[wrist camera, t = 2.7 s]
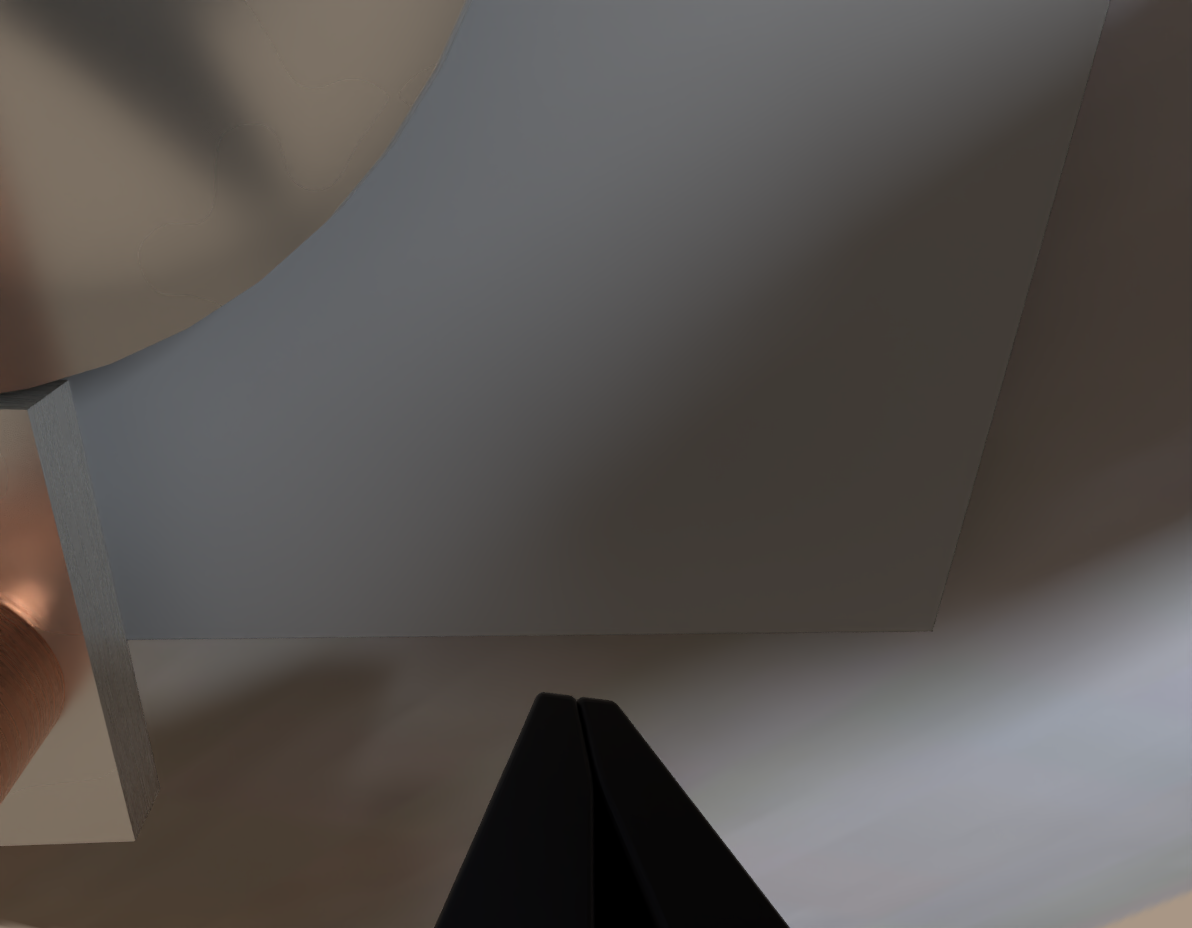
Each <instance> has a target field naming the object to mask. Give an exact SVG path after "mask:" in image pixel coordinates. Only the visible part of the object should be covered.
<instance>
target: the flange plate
mask: <svg viewBox="0 0 1192 928" xmlns="http://www.w3.org/2000/svg"><path fill="white" fill-rule="evenodd" d="M471 2H472V0H0V846H16V845H44V844H73V843H101V842H129V841H135V840H136V838H137V836H138V834H139V832H140V830H141V828H142V826H143V824H144V822H145V819H146V817H147V815H148V813H149V811H150V809H151V807H152V805H153V803H154V801H155V799H156V797H157V794H158V792H159V790H160V785H159V781H158V776H157V772H156V767H155V763H154V758H153V754H152V749H151V745H150V740H149V736H148V731H147V727H146V722H145V718H144V714H143V709H142V705H141V700H140V696H139V691H138V687H137V682H136V678H135V673H134V669H133V664H132V660H131V655H130V651H129V646H128V642H127V637H126V633H125V628H124V624H123V619H122V615H121V610H120V606H119V601H118V597H117V593H116V588H115V584H114V579H113V575H112V570H111V566H110V561H109V557H108V552H107V548H106V543H105V539H104V534H103V530H102V525H101V521H100V516H99V512H98V507H97V503H96V498H95V494H94V489H93V485H92V480H91V476H90V472H89V467H88V463H87V458H86V454H85V449H84V445H83V440H82V436H81V431H80V427H79V422H78V418H77V413H76V409H75V404H74V400H73V395H72V391H71V386H70V382H69V380H61V379H62V378H66V377H69V376H72V375H76V374H79V373H82V372H86V371H89V370H92V369H96V368H99V367H102V366H106V365H109V364H112V363H114V362H116V361H118V360H120V359H123V358H125V357H127V356H129V355H131V354H133V353H136V352H138V351H140V350H142V349H144V348H146V347H149V346H151V345H153V344H155V343H157V342H159V341H162V340H164V339H166V338H168V337H170V336H172V335H175V334H177V333H179V332H181V331H183V330H185V329H188V328H189V327H191V326H192V325H194V324H195V323H197V322H198V321H200V320H201V319H203V318H204V317H206V316H208V315H209V314H211V313H212V312H214V311H215V310H217V309H218V308H220V307H221V306H223V305H224V304H226V303H227V302H229V301H231V300H232V299H234V298H235V297H237V296H238V295H240V294H241V293H243V292H244V291H246V290H247V289H249V288H250V287H252V286H253V285H255V284H257V283H258V282H259V281H261V280H262V279H263V278H264V277H265V276H266V275H267V274H268V273H270V272H271V271H272V270H273V269H274V268H275V267H276V266H278V265H279V264H280V263H281V262H282V261H283V260H284V259H285V258H287V257H288V256H289V255H290V254H291V253H292V252H293V251H294V250H296V249H297V248H298V247H299V246H300V245H301V244H302V243H303V242H305V241H306V240H307V239H308V238H309V237H310V236H311V235H312V234H313V233H315V232H316V231H317V230H318V229H319V228H320V227H321V226H322V225H324V224H325V223H326V222H327V221H328V220H329V219H330V218H331V217H333V216H334V215H335V214H336V213H337V212H338V211H339V210H340V209H341V208H342V207H343V206H344V205H345V204H346V202H347V201H348V200H349V199H350V198H351V196H352V195H353V194H354V193H355V192H356V190H357V189H358V188H359V187H360V186H361V184H362V183H363V182H364V181H365V180H366V178H367V177H368V176H369V175H370V174H371V172H372V171H373V170H374V169H375V168H376V166H377V165H378V164H379V163H380V162H381V160H382V159H383V158H384V157H385V156H386V154H387V153H388V152H389V151H390V150H391V148H392V147H393V146H394V145H395V143H396V142H397V140H398V138H399V137H400V135H401V134H402V132H403V130H404V129H405V127H406V125H407V124H408V122H409V121H410V119H411V117H412V116H413V114H414V113H415V111H416V109H417V108H418V106H419V105H420V103H421V101H422V100H423V98H424V96H425V95H426V93H427V92H428V90H429V88H430V87H431V85H432V84H433V82H434V80H435V79H436V77H437V75H438V74H439V72H440V71H441V69H442V67H443V64H444V62H445V60H446V58H447V56H448V53H449V51H450V49H451V47H452V44H453V42H454V40H455V38H456V35H457V33H458V31H459V29H460V26H461V24H462V22H463V20H464V17H465V15H466V13H467V11H468V9H469V6H470V4H471Z"/></svg>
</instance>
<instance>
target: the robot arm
mask: <svg viewBox="0 0 1192 928" xmlns="http://www.w3.org/2000/svg"><path fill="white" fill-rule="evenodd" d="M434 928H790V927H789V926H788V925H787V923H786V922H785V921H784V919H783V918H782V917H781V916H780V914H779V913H778V912H777V910H776V909H775V908H774V907H773V905H772V904H771V903H770V901H769V900H768V899H767V897H766V896H765V895H764V894H763V892H762V891H761V890H760V888H759V887H758V886H757V885H756V883H755V882H754V881H753V879H752V878H751V877H750V875H749V874H748V873H747V872H746V870H745V869H744V868H743V866H742V865H741V864H740V863H739V861H738V860H737V859H736V857H735V856H734V855H733V853H732V852H731V851H730V850H729V848H728V847H727V846H726V844H725V843H724V842H723V841H722V839H721V838H720V837H719V835H718V834H717V833H716V831H715V830H714V829H713V828H712V826H711V825H710V824H709V822H708V821H707V820H706V819H705V817H704V816H703V815H702V813H701V812H700V811H699V809H698V808H697V807H696V806H695V804H694V803H693V802H692V800H691V799H690V798H689V797H688V795H687V794H686V793H685V791H684V790H683V789H682V787H681V786H680V785H679V784H678V782H677V781H676V780H675V778H674V777H673V776H672V775H671V773H670V772H669V771H668V769H667V768H666V767H665V765H664V764H663V763H662V762H661V760H660V759H659V758H658V756H657V755H656V754H655V753H654V751H653V750H652V749H651V747H650V746H649V745H648V743H647V742H646V741H645V740H644V738H643V737H642V736H641V734H640V733H639V732H638V731H637V729H636V728H635V727H634V725H633V724H632V723H631V721H630V720H629V719H628V718H627V716H626V715H625V714H624V712H623V711H622V710H621V709H620V707H619V706H618V705H617V704H616V703H614V702H613V701H609V700H602V699H594V698H586V697H581V698H580V699H578V700H577V701H576V699H574V698H573V697H572V696H569V695H561V694H553V693H545V692H542V693H539V694H538V695H537V697H536V699H535V701H534V703H533V705H532V707H531V710H530V712H529V714H528V716H527V719H526V721H525V723H524V726H523V728H522V730H521V732H520V735H519V737H518V739H517V741H516V744H515V746H514V748H513V750H512V753H511V755H510V757H509V760H508V762H507V764H506V766H505V769H504V771H503V773H502V775H501V778H500V780H499V782H498V784H497V787H496V789H495V791H494V793H493V796H492V798H491V800H490V803H489V805H488V807H487V809H486V812H485V814H484V816H483V818H482V821H481V823H480V825H479V827H478V830H477V832H476V834H475V836H474V839H473V841H472V843H471V846H470V848H469V850H468V852H467V855H466V857H465V859H464V861H463V864H462V866H461V868H460V870H459V873H458V875H457V877H456V880H455V882H454V884H453V886H452V889H451V891H450V893H449V895H448V898H447V900H446V902H445V904H444V907H443V909H442V911H441V913H440V916H439V918H438V920H437V923H436V925H435V927H434Z"/></svg>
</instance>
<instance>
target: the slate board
mask: <svg viewBox="0 0 1192 928" xmlns="http://www.w3.org/2000/svg"><path fill="white" fill-rule="evenodd" d="M1109 3H1110V0H472V2H471V4H470V6H469V9H468V11H467V13H466V15H465V17H464V20H463V22H462V24H461V26H460V29H459V31H458V33H457V35H456V38H455V40H454V42H453V44H452V47H451V49H450V51H449V53H448V56H447V58H446V60H445V62H444V64H443V67H442V69H441V71H440V72H439V74H438V75H437V77H436V79H435V80H434V82H433V84H432V85H431V87H430V88H429V90H428V92H427V93H426V95H425V96H424V98H423V100H422V101H421V103H420V105H419V106H418V108H417V109H416V111H415V113H414V114H413V116H412V117H411V119H410V121H409V122H408V124H407V125H406V127H405V129H404V130H403V132H402V134H401V135H400V137H399V138H398V140H397V142H396V143H395V145H394V146H393V147H392V148H391V150H390V151H389V152H388V153H387V154H386V156H385V157H384V158H383V159H382V160H381V162H380V163H379V164H378V165H377V166H376V168H375V169H374V170H373V171H372V172H371V174H370V175H369V176H368V177H367V178H366V180H365V181H364V182H363V183H362V184H361V186H360V187H359V188H358V189H357V190H356V192H355V193H354V194H353V195H352V196H351V198H350V199H349V200H348V201H347V202H346V204H345V205H344V206H343V207H342V208H341V209H340V210H339V211H338V212H337V213H336V214H335V215H334V216H333V217H331V218H330V219H329V220H328V221H327V222H326V223H325V224H324V225H322V226H321V227H320V228H319V229H318V230H317V231H316V232H315V233H313V234H312V235H311V236H310V237H309V238H308V239H307V240H306V241H305V242H303V243H302V244H301V245H300V246H299V247H298V248H297V249H296V250H294V251H293V252H292V253H291V254H290V255H289V256H288V257H287V258H285V259H284V260H283V261H282V262H281V263H280V264H279V265H278V266H276V267H275V268H274V269H273V270H272V271H271V272H270V273H268V274H267V275H266V276H265V277H264V278H263V279H262V280H261V281H259V282H258V283H257V284H255V285H253V286H252V287H250V288H249V289H247V290H246V291H244V292H243V293H241V294H240V295H238V296H237V297H235V298H234V299H232V300H231V301H229V302H227V303H226V304H224V305H223V306H221V307H220V308H218V309H217V310H215V311H214V312H212V313H211V314H209V315H208V316H206V317H204V318H203V319H201V320H200V321H198V322H197V323H195V324H194V325H192V326H191V327H189V328H188V329H185V330H183V331H181V332H179V333H177V334H175V335H172V336H170V337H168V338H166V339H164V340H162V341H159V342H157V343H155V344H153V345H151V346H149V347H146V348H144V349H142V350H140V351H138V352H136V353H133V354H131V355H129V356H127V357H125V358H123V359H120V360H118V361H116V362H114V363H112V364H109V365H106V366H102V367H99V368H96V369H92V370H89V371H86V372H82V373H79V374H76V375H72V376H69V377H66V378H62V379H61V380H69V382H70V386H71V391H72V395H73V400H74V404H75V409H76V413H77V418H78V422H79V427H80V431H81V436H82V440H83V445H84V449H85V454H86V458H87V463H88V467H89V472H90V476H91V480H92V485H93V489H94V494H95V498H96V503H97V507H98V512H99V516H100V521H101V525H102V530H103V534H104V539H105V543H106V548H107V552H108V557H109V561H110V566H111V570H112V575H113V579H114V584H115V588H116V593H117V597H118V601H119V606H120V610H121V615H122V619H123V624H124V628H125V633H126V637H127V640H143V639H239V638H336V637H432V636H529V635H625V634H722V633H818V632H915V631H933V627H934V624H935V620H936V617H937V613H938V610H939V606H940V602H941V599H942V595H943V592H944V588H945V585H946V581H947V578H948V574H949V571H950V567H951V563H952V560H953V556H954V553H955V549H956V546H957V542H958V539H959V535H960V532H961V528H962V524H963V521H964V517H965V514H966V510H967V507H968V503H969V500H970V496H971V493H972V489H973V486H974V482H975V478H976V475H977V471H978V468H979V464H980V461H981V457H982V454H983V450H984V447H985V443H986V439H987V436H988V432H989V429H990V425H991V422H992V418H993V415H994V411H995V408H996V404H997V400H998V397H999V393H1000V390H1001V386H1002V383H1003V379H1004V376H1005V372H1006V369H1007V365H1008V361H1009V358H1010V354H1011V351H1012V347H1013V344H1014V340H1015V337H1016V333H1017V330H1018V326H1019V322H1020V319H1021V315H1022V312H1023V308H1024V305H1025V301H1026V298H1027V294H1028V291H1029V287H1030V283H1031V280H1032V276H1033V273H1034V269H1035V266H1036V262H1037V259H1038V255H1039V252H1040V248H1041V244H1042V241H1043V237H1044V234H1045V230H1046V227H1047V223H1048V220H1049V216H1050V213H1051V209H1052V205H1053V202H1054V198H1055V195H1056V191H1057V188H1058V184H1059V181H1060V177H1061V174H1062V170H1063V166H1064V163H1065V159H1066V156H1067V152H1068V149H1069V145H1070V142H1071V138H1072V135H1073V131H1074V127H1075V124H1076V120H1077V117H1078V113H1079V110H1080V106H1081V103H1082V99H1083V96H1084V92H1085V89H1086V85H1087V81H1088V78H1089V74H1090V71H1091V67H1092V64H1093V60H1094V57H1095V53H1096V50H1097V46H1098V42H1099V39H1100V35H1101V32H1102V28H1103V25H1104V21H1105V18H1106V14H1107V11H1108V7H1109Z"/></svg>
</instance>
